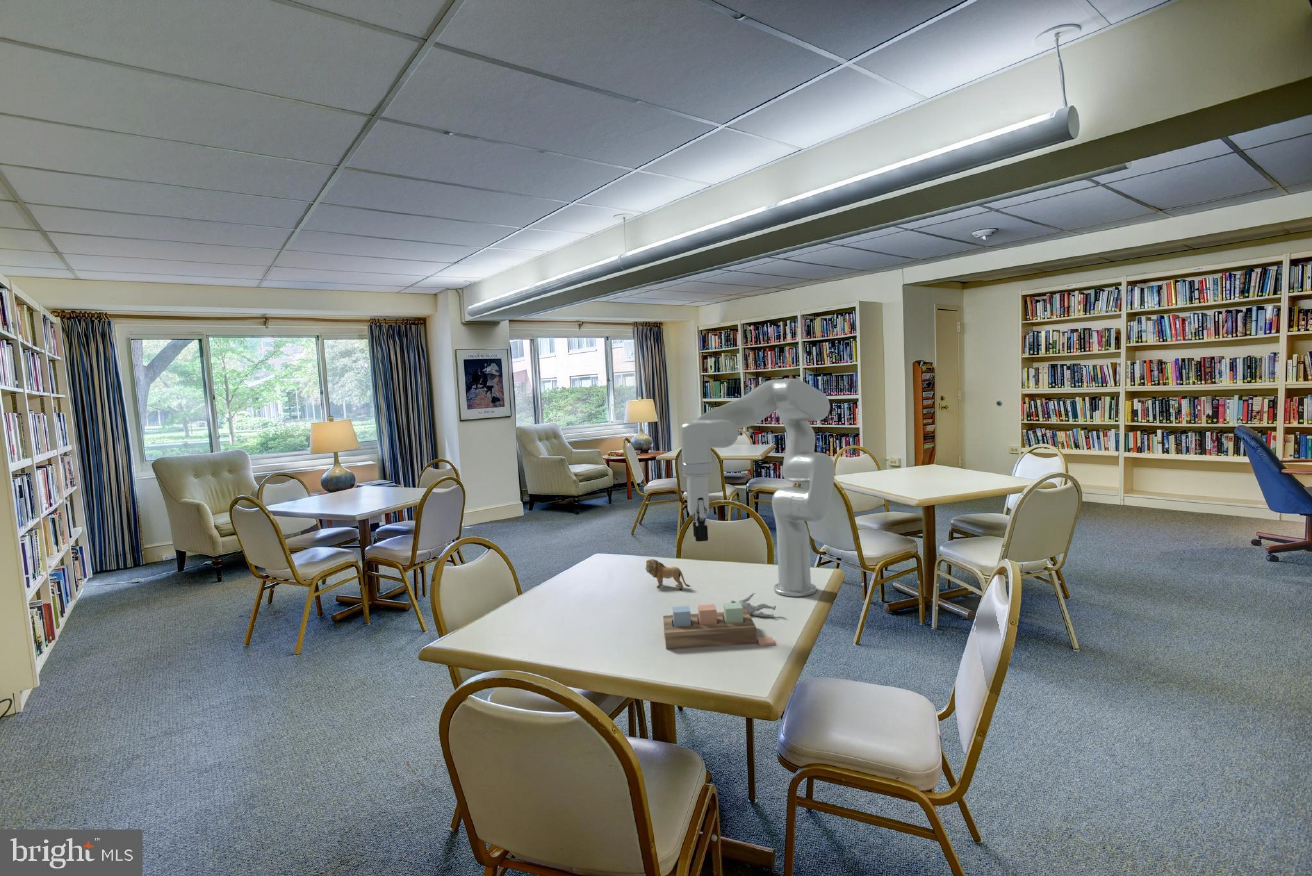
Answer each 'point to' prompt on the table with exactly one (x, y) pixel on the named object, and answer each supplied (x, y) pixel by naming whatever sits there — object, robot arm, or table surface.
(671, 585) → the table surface
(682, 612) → the light blue block
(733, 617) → the mint green block
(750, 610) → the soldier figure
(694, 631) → the board
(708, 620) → the salmon pink rectangular block
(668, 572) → the lion figurine
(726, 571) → the table surface
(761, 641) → the tile
